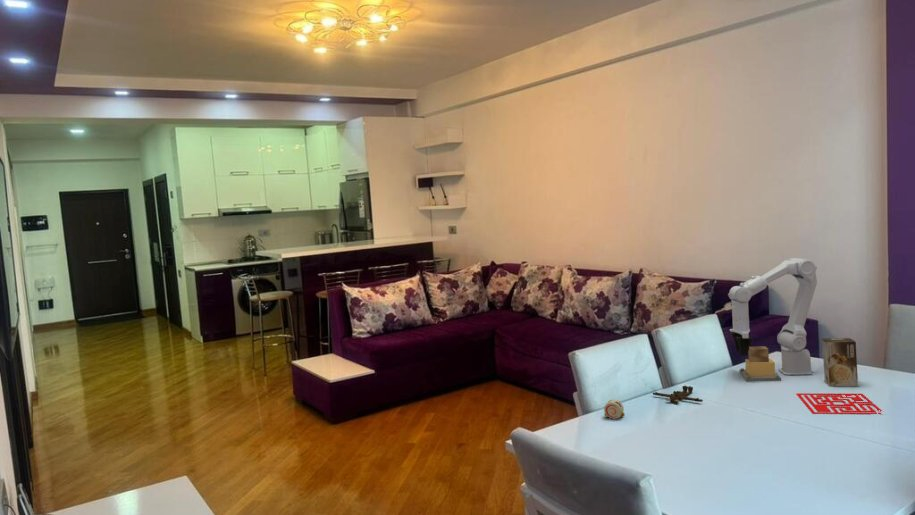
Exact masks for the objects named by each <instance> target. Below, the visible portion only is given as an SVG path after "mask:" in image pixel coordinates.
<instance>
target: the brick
mask: <svg viewBox="0 0 915 515" xmlns="http://www.w3.org/2000/svg"><path fill="white" fill-rule="evenodd" d="M744 361H745V370H746V373H747V374H748V375H749V376H771V375H775V372H776V364H775V361H774V360H773V359H772V358H769V362H753V363H752V362H751V361H750V360H749V358H746V359H745V360H744Z"/></svg>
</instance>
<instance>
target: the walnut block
mask: <svg viewBox="0 0 915 515" xmlns="http://www.w3.org/2000/svg"><path fill="white" fill-rule="evenodd" d="M769 356H770V355H769V348H768V347H767V346H765V345H763V346H762V345H761V346H749V351H748V359H749V360H750V361H751V362H752V363H753V362H769V359H770V357H769Z"/></svg>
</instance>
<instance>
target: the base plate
mask: <svg viewBox="0 0 915 515" xmlns="http://www.w3.org/2000/svg"><path fill="white" fill-rule="evenodd" d="M738 373H739V374H740V376H741V377H742V378H743V379H744V381H745V382H748V383H749V382H781V381H782V377H781V376H780V375H779V374H778V373H777V372H776V371H775V375H771V376H749V375H748V374H747V373H746V369H745V368H743V367H742V368H740V369H738Z"/></svg>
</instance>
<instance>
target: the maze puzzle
mask: <svg viewBox="0 0 915 515" xmlns="http://www.w3.org/2000/svg"><path fill="white" fill-rule="evenodd" d="M795 394H796V396H797V398H799V399H800V401H802V403H803V404H804V406H805V407H806V408H807V409H808V411H809V412H810V413H811V415H871V414H877V413H878V414H881V413H880V412H879V410H880V411H883V410H882V409H881V408H879V407H878V406H877V405H876V403H873V401H871V400H870V399H869V397H867V396H866V395H865V394H864V393H829V392H827V393H823V392H821V393H810V392H809V393H806V392H805V393H801V392H799V393H795ZM857 394H858V395H857ZM844 395H845V396H846V397H845V396H844ZM860 395H861V397H860ZM847 396H852V397H847ZM855 396H856V397H855ZM804 398H805V399H806V400H805V399H804ZM811 398H812V399H811ZM823 398H824V399H823ZM831 398H832V399H831ZM841 398H851V399H841ZM865 399H866V400H867V401H868V402H867V401H866V400H865ZM819 400H820V401H819ZM843 400H847V401H848V402H847V401H843ZM851 400H852V401H851ZM853 400H854V401H853ZM813 401H814V402H815V403H814V402H813ZM856 401H864V402H856ZM835 403H837V404H835ZM838 403H840V404H838ZM841 403H842V404H841ZM856 404H858V405H859V406H860V408H859V406H858V405H856ZM810 405H811V406H812V407H813V408H812V407H811V406H810ZM872 405H873V406H874V407H875V408H876V409H877V410H875V408H874V407H873V406H872ZM865 406H867V407H868V408H869V409H868V408H867V407H865ZM853 408H854V409H855V410H854V409H853ZM814 409H815V410H814ZM837 409H838V410H837ZM831 410H832V411H831ZM839 411H840V412H839ZM877 411H878V412H877Z"/></svg>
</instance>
